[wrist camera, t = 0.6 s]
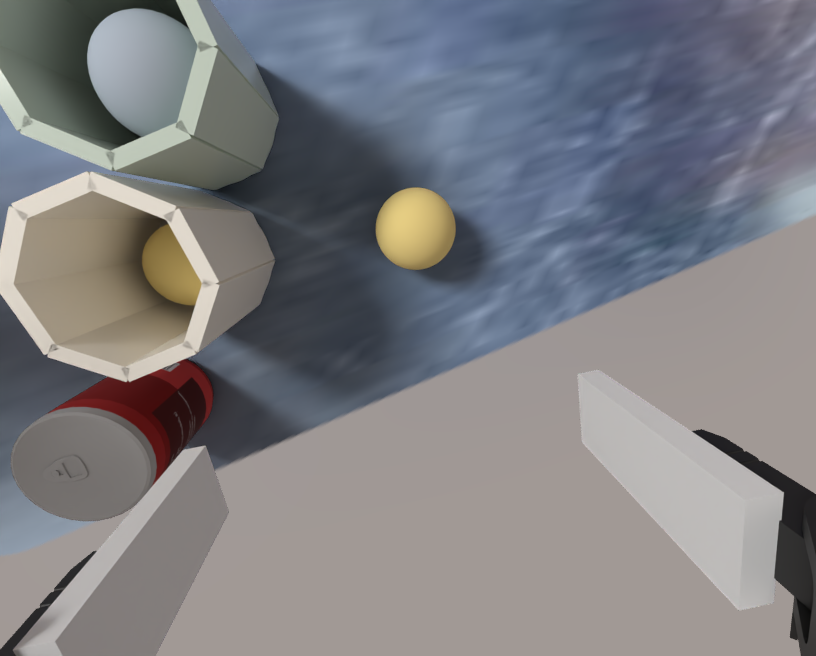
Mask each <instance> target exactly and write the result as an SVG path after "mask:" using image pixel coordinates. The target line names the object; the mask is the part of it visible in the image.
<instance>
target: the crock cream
mask: <svg viewBox="0 0 816 656" xmlns="http://www.w3.org/2000/svg"><path fill="white" fill-rule="evenodd" d="M250 212H251V211H248V210H246V209H244V208H241V207H239V206H236V205H234V204H232V203H230V202H228V201H225V200H222V199H220V198H217V197H215V196H212V195H210V194H207V193H205V192H203V191H199V190H193V189H188V188H182V187H176V186H171V185H165V184H159V183H153V182H148V181H142V180H136V179H131V178H125V177H119V176H113V175H108V174H102V173H96V172H85V173H82V174H80V175H78V176H75V177H73V178H71V179H68V180H66V181H63V182H61V183H59V184H56V185H54V186H52V187H49V188H47V189H45V190H42V191H40V192H38V193H35V194H33V195H30V196H28V197H26V198H23V199H21V200H19V201H16V202H14V203H12V206H9V208H8V213H7V219H6V224H5V229H4V234H3V239H2V244H1V250H0V294H1V295H2V297H3V298H4V299H5V301H6V302H7V304H8V305H9V306H10V308H11V309H12V311H13V312H14V313H15V315H16V316H17V318H18V319H19V320H20V322H21V323H22V325H23V326H24V327H25V329H26V330H27V331H28V333H29V334H30V336H31V337H32V338H33V340H34V341H35V343H36V344H37V345H38V347H39V348H40V350H41V351H42V352H43V354H44V355H46V354H48V358H51V359H55V360H58V361H61V362H64V363H67V364H70V365H74V366H77V367H80V368H83V369H86V370H89V371H93V372H96V373H99V374H102V375H105V376H108V377H112V378H115V379H118V380H121V381H124V382H127V381H129V382H131V381H133V380H135V379H138V378H140V377H143V376H145V375H147V374H150V373H152V372H155V371H157V370H159V369H162V368H164V367H167V366H169V365H171V364H174V363H176V362H179V361H181V360H183V359H186V358H188V357H191V356H193V355H195V354H197V353H198V352H200V351H201V350H202V349H203V348H205V347H206V346H207V345H209V344H210V343H211V342H212V341H214V340H215V339H216V338H218V337H219V336H220V335H221V334H223V333H224V332H225V331H227V330H228V329H229V328H230V327H232V326H233V325H234V324H236V323H237V322H238V321H239V320H241V319H242V318H243V317H245V316H246V315H247V314H248V313H250V312H251V311H252V310H254V309H255V308H256V307H257V306H259V305H260V304H261V301H262V298H263V295H264V292H265V290H266V288H267V286H268V283H269V281H270V277H271V272H272V269H273V266H274V263H275V260H273V259H275V258H274V256H273V253H272V251H271V249H270V246H269V243H268V241H267V238H266V236H265V234H264V232H263V231H262V229H261V228H260V226H259V225H258V223H257V221H256V219H255V217H254V215H253V213H250ZM166 224H169V226H170V227H171V229H172V231H173V233H174V235H175V236H176V238H177V240H178V242H179V243H180V245H181V247H182V249H183V251H184V252H185V254H186V256H187V258H188V260H189V261H190V263H191V265H192V267H193V268H194V270H195V272H196V274H197V276H198V277H199V279H200V281H201V283H202V285H201V289H200V292H199V295H198V298H197V301H196V305H183V304H179V303H176V302H173V301H171V300H169V299H167V298H165V297H163V296H162V295H161V294H159V293H158V292H157V291H156V290H155V289H154V288H153V287H152V286H151V284H150V283H149V282H148V280H147V278H146V276H145V273H144V271H143V266H142V254H143V249H144V246H145V244H146V242H147V240H148V239H149V238H150V236H151V235H152V234H153V233H154V232H155V231H156V230H158V229H159V228H160V227H162V226H164V225H166Z"/></svg>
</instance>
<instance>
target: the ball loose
mask: <svg viewBox="0 0 816 656" xmlns="http://www.w3.org/2000/svg"><path fill="white" fill-rule="evenodd" d="M455 232H456V225H455V219H454V215H453V213H452V210H451V208H450V207H449V205H448V204H447V202H446V201H445V200H444V199H443V198H442V197H441V196H440V195H438V194H437V193H435V192H433V191H431V190H428V189H425V188H417V187H416V188H407V189H404V190H401V191H399V192H397V193H395V194H394V195H392V196H391V197H390V198H389V199H388V200H387V201H386V202H385V203H384V204H383V206H382V207H381V209H380V211H379V214H378V217H377V221H376V237H377V241H378V244H379V246H380V248H381V250H382V252H383V253H384V255H385V256H386V257H387V258H388V259H389V260H390V261H391V262H393V263H394V264H396V265H398V266H400V267H402V268H405V269H410V270H421V269H426V268H429V267H431V266H433V265H435V264H437V263H438V262H440V261H441V260H442V259H443V258H444V257H445V256H446V255H447V253H448V252H449V250H450V249H451V247H452V244H453V242H454V238H455Z"/></svg>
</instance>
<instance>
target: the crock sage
mask: <svg viewBox="0 0 816 656" xmlns="http://www.w3.org/2000/svg"><path fill="white" fill-rule="evenodd" d="M127 9H148V10H153V11H156V12H159V13H163V14H165V15H167V16H170V17H172V18H173V19H175V20H177V21H178V22H180V23H182V24H183V25H184V26H186V27H187V28H188V29H190V31H191V33H192V35H193V37H194V39H195V41H196V43H197V46H198V47H197V51H196V54H195V58H194V62H193V65H192V69H191V73H190V76H189V80H188V84H187V87H186V91H185V95H184V99H183V102H182V106H181V110H180V113H179V117H178V121H177V123H174V124H172V125H170V126H167V127H165V128H163V129H160V130H158V131H155V132H153V133H151V134H148V135H146V136H144V137H141V136H138V135H137V134H135V133H133V132H132V131H130V130H129V129H127V128H126V127H125V126H123V125H122V124H121V123H120V122H119V121H118V120H116V119H115V118H114V117H113V116H112V114H111V113H110V112H109V111H108V110H107V109H106V107H105V106H104V104H103V103H102V101H101V100H100V99H99V97H98V95H97V93H96V91H95V89H94V87H93V84H92V82H91V78H90V75H89V71H88V64H87V52H88V45H89V42H90V38H91V36H92V34H93V32H94V30H95V29H96V28H97V26H98V25H99V24H100V23H101V22H102V21H103V20H104V19H105V18H106V17H108V16H110V15H111V14H113V13H115V12H118V11H121V10H127ZM0 104H1V106H2V108H3V109H4V111H5V112H6V114H7V115H8V117H9V119H10V120H11V122H12V123H13V125H14V127H15V128H16V130H17V131H21V134H23V135H25V136H28V137H30V138H33V139H35V140H38V141H40V142H43V143H45V144H48V145H50V146H52V147H55V148H57V149H60V150H62V151H65V152H67V153H70V154H72V155H75V156H77V157H79V158H82V159H84V160H87V161H89V162H92V163H94V164H97V165H99V166H102V167H104V168H106V169H109V170H111V171H117V172H122V173H127V174H132V175H137V176H142V177H148V178H153V179H158V180H163V181H168V182H174V183H179V184H184V185H189V186H194V187H199V188H205V189H210V190H217V189H220V188H222V187H224V186H227V185H229V184H234V183H237V182H239V181H242V180H244V179H246V178H248V177H249V176H251V175H253V174H255V173H257V172H260V171H261V169H263V168H264V164H265V161H266V158H267V157H268V155H269V153H270V151H271V148H272V146H273V142H274V138H275V130H276V127H277V124H278V121H279V118H278V117H279V115H278V113H277V111H276V108H275V106H274V104H273V102H272V99H271V96H270V94H269V91H268V89H267V87H266V85H265V83H264V82H263V79H262V77H261V75H260V73H259V70H258V68H257V66H256V64H255V61H254V60H253V59H252V57H251V56H250V54H249V53H248V52H247V50H246V49H245V47H244V46H243V45H242V43H241V42H240V40H239V39H238V38H237V36H236V35H235V33H234V32H233V31H232V29H231V28H230V26H229V25H228V24H227V22H226V21H225V19H224V18H223V17H222V15H221V14H220V13H219V11H218V10H217V8H216V7H215V6H214V4H213V3H212V1H211V0H0ZM260 168H261V169H260Z"/></svg>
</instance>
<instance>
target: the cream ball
mask: <svg viewBox="0 0 816 656" xmlns="http://www.w3.org/2000/svg"><path fill="white" fill-rule="evenodd" d="M142 266H143V271H144V273H145V276H146V278H147V280H148V282H149V283H150V284H151V286H152V287H153V288H154V289H155V290H156V291H157V292H158V293H159V294H161V295H162V296H163V297H165V298H167V299H169V300H171V301H173V302H176V303H179V304H183V305H196V301H197V298H198V295H199V292H200V289H201V285H202V283H201V281H200V279H199V277H198V276H197V274H196V272H195V270H194V268H193V267H192V265H191V263H190V261H189V260H188V258H187V256H186V254H185V252H184V251H183V249H182V247H181V245H180V243H179V242H178V240H177V238H176V236H175V235H174V233H173V231H172V229H171V227H170V226H169V224H166V225H164V226H162V227H160V228H159V229H158V230H156V231H155V232H154V233H153V234H152V235H151V236H150V238H149V239H148V240H147V242H146V244H145V246H144V249H143V254H142Z"/></svg>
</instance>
